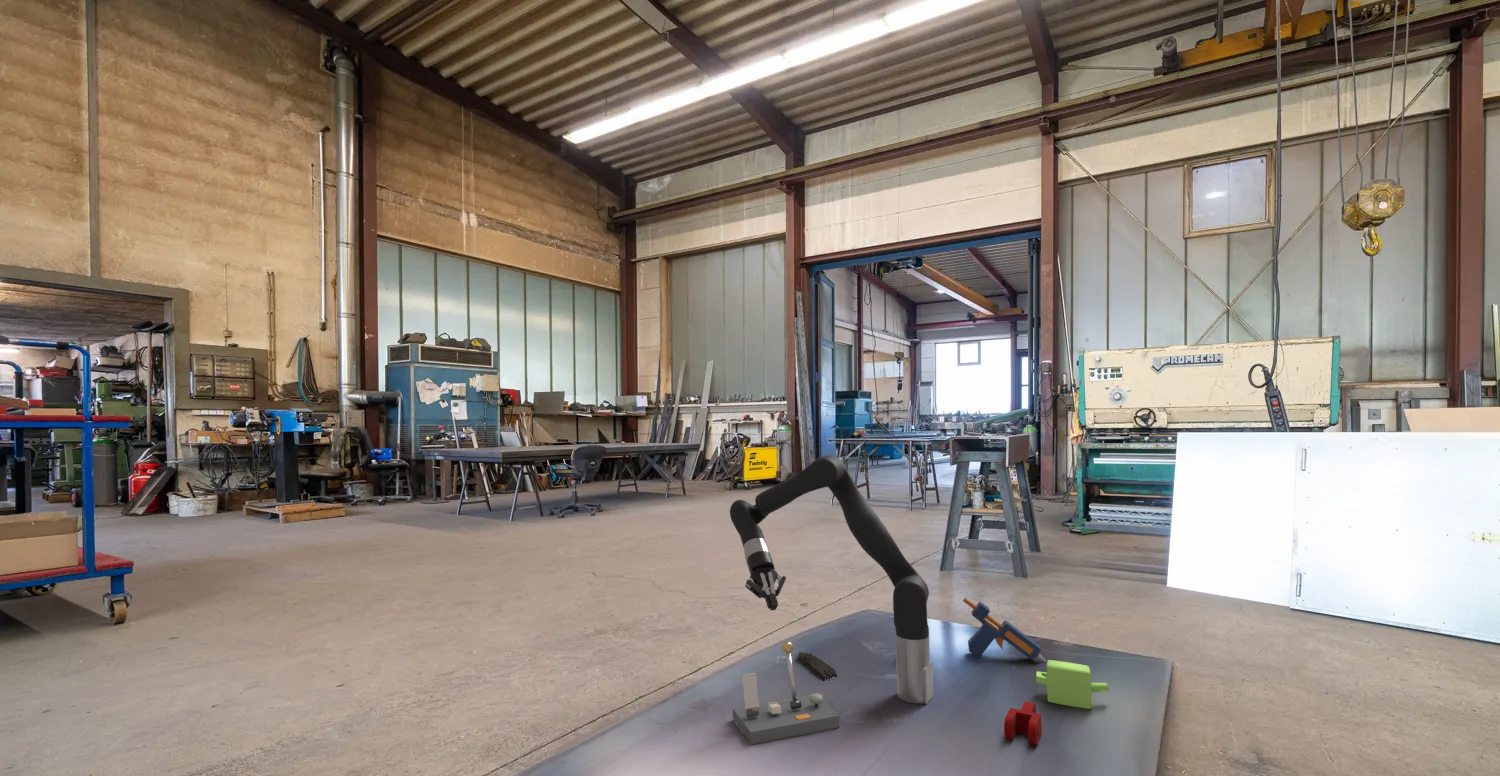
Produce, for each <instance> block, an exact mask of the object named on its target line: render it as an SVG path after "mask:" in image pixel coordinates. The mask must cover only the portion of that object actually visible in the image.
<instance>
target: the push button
mask: <svg viewBox="0 0 1500 776" xmlns="http://www.w3.org/2000/svg"><path fill="white" fill-rule="evenodd" d="M809 695H810V702H811V703H814V704H815V707H818V704H820V703H822V701H823V695H822V694H821V693H818V692H816V693H811V694H809Z"/></svg>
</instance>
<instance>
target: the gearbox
mask: <svg viewBox="0 0 1500 776" xmlns="http://www.w3.org/2000/svg"><path fill="white" fill-rule="evenodd" d="M1091 674H1092V673H1091V669H1090V666H1089V665H1085V664H1080V663H1074V662H1069V661H1060V660H1052V659H1048V660H1047V662H1046V672H1045V671H1036V674H1035V675H1036V678H1035V679H1036V681H1035V682H1036V684H1040V685H1044V686H1046V694H1047V695H1046V696H1047V701H1048V702H1049V703H1052V704H1057V705H1063V706H1068V707H1075V708H1081V709H1089V710H1090V709H1092V693H1099V692H1100V693H1101V692H1108V691H1109V685H1108V683H1106V682H1092V676H1091Z"/></svg>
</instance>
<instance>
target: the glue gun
mask: <svg viewBox="0 0 1500 776" xmlns="http://www.w3.org/2000/svg"><path fill="white" fill-rule="evenodd" d="M962 602H963V603H965V605H968V606H969V607H971V609H972V611H971V616H972V617H974V618H975V619H976V620H978V621H979V622H980V623H981V624H982V625H981V627H979V629H978V630H977V631H976V632H975V633H974V634H973V635H972V636H971V637H970V638H969V639H968V640H967V647H968V651H969V653H970V654H972V655H973V656H974V657H976V658H978V659H980V658H981V657H982V655H983V654H984V653H985V651H986V650H987V649H988V647H989V646H990V645H991V644H992V642H993V641H994V640H995V641H996V643H997V645H998V647H1000V648H1001V650H1002V651H1003V650H1004V648H1003V647H1004V646H1003V645H1004V644H1003V643H1004V641H1005V642H1007V643H1008V644H1010V645H1011V646H1012V647H1014V649H1016V650H1017V651H1019V652H1020V653H1022V654H1023V655H1024V656H1026V657H1027V658H1028V659H1029V660H1031V661H1035V659H1036V658H1039V659H1041V660H1042V661H1045V662H1046V663H1047V662H1048V660H1046V658H1045V657H1043V655H1042V654H1040V653H1041V652H1042V648H1041V646H1040V644H1038V643H1037V642H1036V641H1034V640H1033V639H1032V638H1030V636H1027V635H1026V634H1024V632H1022V630H1020V629H1018V628H1017V627H1015V626H1014V625H1013V624H1011V623H1010V622H1009V621H1007V619H1005V620H1003V622H1002V623H1001V622H998V621H997V620H996V619H994V618H993V617H992V616H990V615H989V613H991V611H990V607H989V606H987V605H986V604H984V603H983V602H982V601H978V603H977V604H976V605H975V604H974V603H973V602H971V601H970V600H969V599H968V598H966V597H964V598H963V600H962Z"/></svg>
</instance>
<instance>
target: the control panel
mask: <svg viewBox="0 0 1500 776" xmlns="http://www.w3.org/2000/svg"><path fill="white" fill-rule="evenodd" d="M810 695H811V694H809V695H801V696H797V700H800V701H801V708H798V709H791V707H790V701H793V699H792V697H791V698H786V699H779V700H775V701H773V700H772V702H777V704H779V705H780V706H781V713H777V714H772V713H770V712H769V711H768V708H767V704H768V703H770V702H771V701H770V702H769V701H768V702H762V703H759V707H758V709H759V715H758V716H753V717H747V715H746V709H745V705H744V706H739V707H733V708H732V720H733V719H734V721H735V722H736V723H737V725H738V726H739V728H740V729H741V731H742V732H743V733H742V732H741V731H740V732H741V733H742V735H743V734H744V735H745V736H744V735H743V736H744V738H745V739H746V738H747V739H746V740H747V741H748V743H749V744H750V745H758V744H763V743H768V742H772V741H779V740H783V739H789V738H793V737H798V736H804V735H808V734H814V733H818V732H824V731H829V730H834V729H839V728H840V715H839V714H838V713H837V712H836V711H834V709H832V708H831V707H830V706H829V705H828V704H827V703H826V702H825V701H823V700H822V703H820V704H818V707H815V704H814V703H811V702H810ZM734 721H733V722H734ZM735 722H734V723H735ZM737 725H736V726H737ZM738 726H737V727H738ZM739 728H738V729H739ZM740 729H739V730H740Z"/></svg>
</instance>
